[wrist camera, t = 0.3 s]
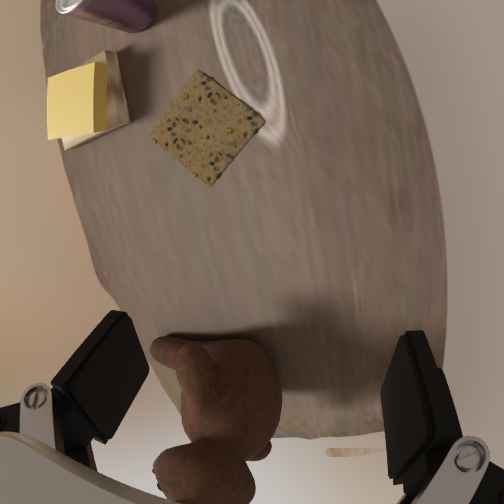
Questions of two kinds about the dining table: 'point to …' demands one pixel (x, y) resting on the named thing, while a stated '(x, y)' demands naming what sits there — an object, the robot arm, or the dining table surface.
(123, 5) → the beverage can
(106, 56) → the tower base
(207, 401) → the stuffed bear
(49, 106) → the tower top
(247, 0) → the dining table surface
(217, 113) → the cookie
